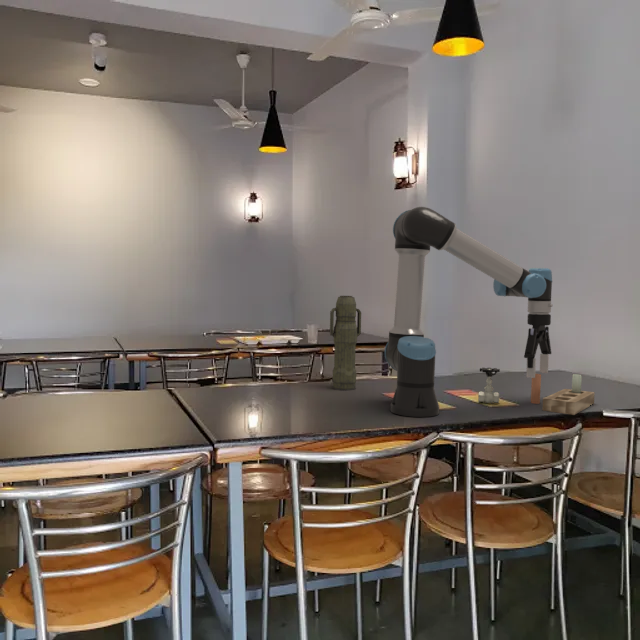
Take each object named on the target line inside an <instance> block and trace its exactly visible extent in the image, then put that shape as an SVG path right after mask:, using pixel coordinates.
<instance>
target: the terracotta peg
mask: <svg viewBox="0 0 640 640" xmlns="http://www.w3.org/2000/svg"><path fill="white" fill-rule="evenodd" d="M541 383H542V374H541V373H535V378H531V390H530V403H531V404H536V405H540V404H541V386H542V385H541Z"/></svg>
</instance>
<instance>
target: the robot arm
mask: <svg viewBox="0 0 640 640" xmlns="http://www.w3.org/2000/svg"><path fill="white" fill-rule="evenodd" d="M392 226H393V227H392V233H393V237H394V239H395V242H394V251H395V252H396V253H397V255H398V262H397V263H398V264H397V276H396V277H397V279H396V280H397V281H396V294H395V306H394V308H395V309H394V319H393V321H394V323H393V327H392V328H391V329H390V330H388V342H387V343H386V345H385V347H384V357H385V361H386V362H387V364H388V366H389V367H391V369H393V370H394V371H396V373H397V374H396V389H395V391H394V395H393V397H392V400H391V403H390V412H391V413H393V414H395V415H399V416H403V417H411V418H412V417H413V418H427V417H428V418H429V417H434V416H435V417H436V416H438V415H439V414H440V405H439V401H438V397H437V395H436V391H435V376H436V373H435V372H436V371H435V370H436V354H437V349H436V343H435V341H434V340H433V339H431V338H429V337H425V333H424V331H422V329H421V318H422V317H421V316H422V303H423V302H422V300H423V289H424V288H423V287H424V276H425V261H426V260H425V259H426V255H428V254H429V253H430V252H431V247H432V248H434V249H435V250H437V251H442V250H444V251H445V252H447V253H449V254H450V255H453V256H454V257H456V258H458V259H459V260H461V261H463V262H465V263H466V264H468V265H470V266H471V267H473V268H475V269H476V270H478V271H480V272H481V273H484V274H485V275H486V276H488V277H490V278H492V279H494V280H493V292H494V293H495V295H496V296H497V297H499V296H500V297H517V298H527V312H528V314H527V324H528V325H529V326H532V328H528V330H527V331H528V332H527V333H528V334H527V339H526V345H525V351H524V356H523V358H524V359H526V378H528V379H529V378H531V379H532V378H535V374H536V367H537V366H536V364H537V363H536V361H537V359H536V358H535V357H536V355H537V350H538V347H539V349H540V354H539V356H540V357H539V373H540V374H541V373H543V374H548V373H549V359H550V357H549V355H552V349H551V348H552V347H551V339H550V332H549V330H550V329H549V326H550V325H551V323H552V318H551V317H552V316H551V315H552V314H550V313H551V310H552V307H553V304H552V285H553V274H552V273H553V272H552V269H550V268H546V267H545V268H543V267H542V268H541V267H539V268H538V267H537V268H536V267H535V268H533V267H532V268H529V270H526V268H523V267H522V266H520V265H518V264H517V263H515V262H513V261H512V260H511V259H508V258H507V257H505V256H503V255H501V254H500V253H499V252H496V251H495V250H493V249H492V248H490V247H489V246H487V245H485V244H483V243H482V242H480V241H478V240H477V239H475V238H473V237H471V236H470V235H469V234H467V233H465V232H463V231H462V230H460V229H459V228H457V225H456V223H455V222H453V221H451V220H450V219H448V218H447V217H445V216H444V215H442V214H441V213H440V212H437V211H435V210H434V209H432V208H429V207H426V206H417V207H414V208H411V209H408V210H405V211H403V212H402V213H400V214H399V215H398V217H397V218H396V219H395V221H394V223H393V225H392Z"/></svg>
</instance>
